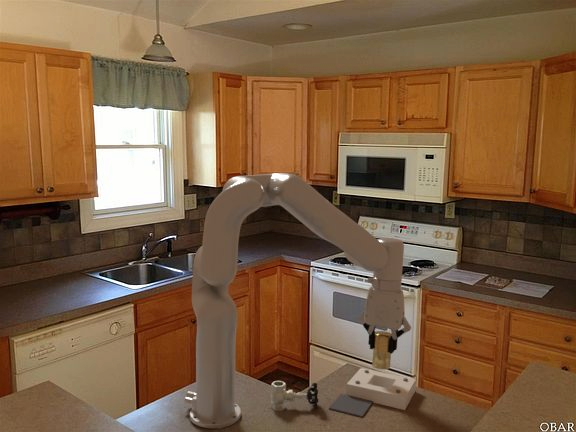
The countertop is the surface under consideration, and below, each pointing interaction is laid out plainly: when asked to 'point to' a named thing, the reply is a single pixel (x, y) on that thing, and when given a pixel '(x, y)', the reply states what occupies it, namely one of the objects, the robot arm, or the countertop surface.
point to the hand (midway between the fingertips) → (382, 349)
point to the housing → (382, 388)
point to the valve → (290, 395)
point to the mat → (351, 405)
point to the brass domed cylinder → (381, 350)
